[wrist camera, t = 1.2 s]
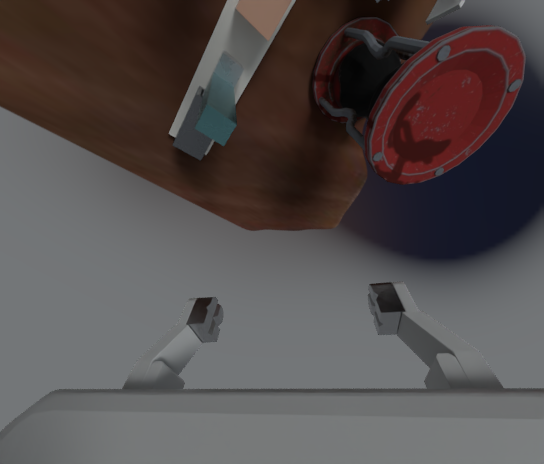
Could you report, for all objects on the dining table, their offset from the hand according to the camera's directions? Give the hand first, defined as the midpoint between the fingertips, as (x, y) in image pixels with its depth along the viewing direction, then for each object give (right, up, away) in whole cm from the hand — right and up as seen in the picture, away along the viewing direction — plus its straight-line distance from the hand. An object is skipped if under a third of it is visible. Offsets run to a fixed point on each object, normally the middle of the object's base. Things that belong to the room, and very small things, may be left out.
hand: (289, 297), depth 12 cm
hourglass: (+15, +33, +30) cm, 47 cm away
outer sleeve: (-15, +25, +31) cm, 42 cm away
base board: (-9, +32, +27) cm, 43 cm away
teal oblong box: (-12, +27, +28) cm, 41 cm away
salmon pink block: (-2, +37, +21) cm, 43 cm away
